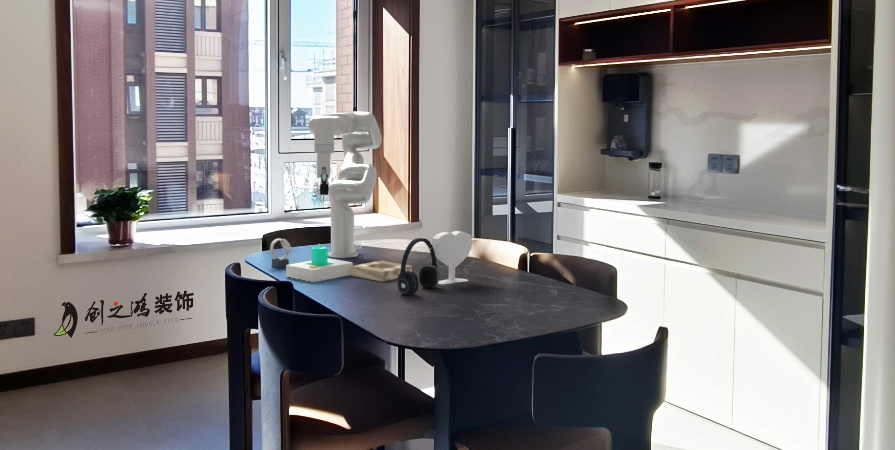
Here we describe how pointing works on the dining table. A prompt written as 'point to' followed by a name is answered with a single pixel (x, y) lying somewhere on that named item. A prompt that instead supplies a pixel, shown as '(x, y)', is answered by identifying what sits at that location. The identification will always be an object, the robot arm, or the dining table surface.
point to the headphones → (427, 273)
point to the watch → (281, 261)
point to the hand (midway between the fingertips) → (324, 193)
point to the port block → (318, 270)
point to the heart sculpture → (452, 251)
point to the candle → (319, 256)
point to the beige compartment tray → (378, 270)
